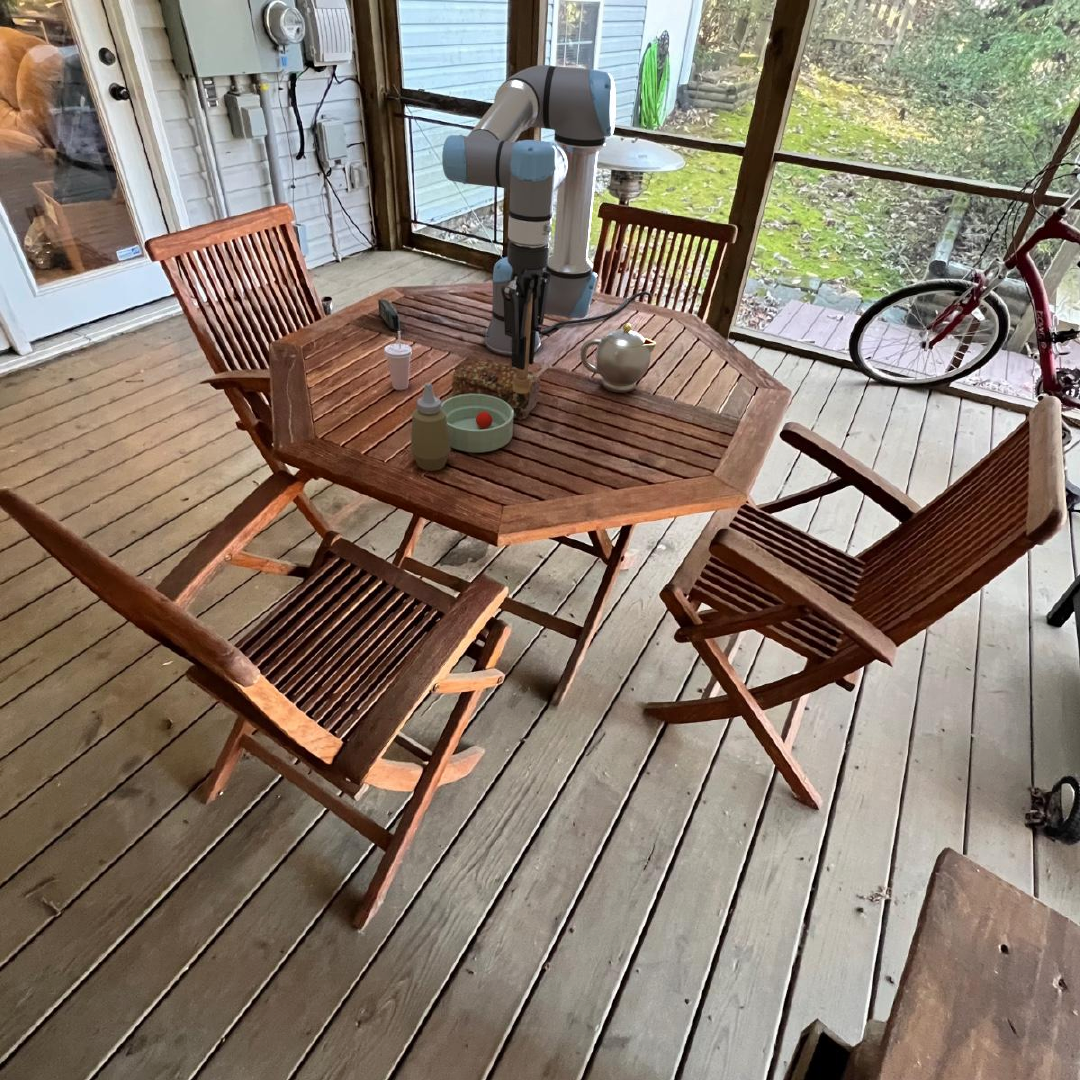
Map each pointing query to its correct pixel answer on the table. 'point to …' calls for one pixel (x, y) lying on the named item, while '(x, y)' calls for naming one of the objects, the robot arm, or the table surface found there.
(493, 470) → the table surface
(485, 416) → the cherry tomato
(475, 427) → the bowl
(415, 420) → the squeeze bottle
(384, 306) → the dark grey tapered piece
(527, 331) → the muddler
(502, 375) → the bread
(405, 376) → the smoothie
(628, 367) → the teapot
